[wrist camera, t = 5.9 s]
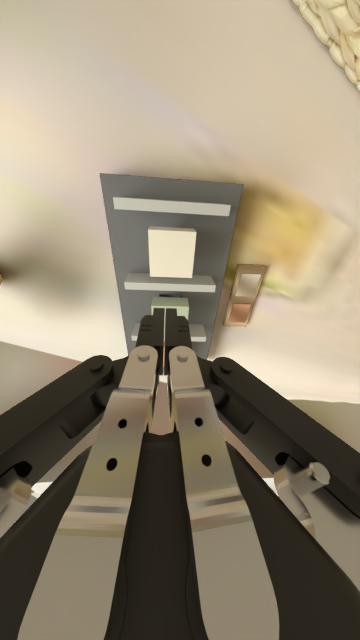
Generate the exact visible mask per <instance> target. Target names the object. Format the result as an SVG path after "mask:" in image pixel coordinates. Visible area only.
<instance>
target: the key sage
mask: <svg viewBox="0 0 360 640" xmlns="http://www.w3.org/2000/svg"><path fill="white" fill-rule="evenodd" d="M154 308H165V315H166V308H177V316H185V318H186V319H187V320H188V313H189V303H188V298H176V297H153V299H152V304H151V312H152V315H153V309H154ZM164 335H165V317H164Z"/></svg>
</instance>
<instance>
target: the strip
mask: <svg viewBox="0 0 360 640" xmlns="http://www.w3.org/2000/svg"><path fill="white" fill-rule="evenodd" d="M265 269H266V266H264V265H247V264H238V265H237V269H236V273H235V277H234V282H233V286H232V290H231V294H230V298H229V302H228V306H227V310H226V314H225V318H224V323H223V325H224V326H240V327H246V325H247V322H248V319H249V316H250V313H251V310H252V307H253V304H254V301H255V298H256V295H257V292H258V289H259V286H260V284H261V281H262V278H263V275H264V272H265Z"/></svg>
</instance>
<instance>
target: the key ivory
mask: <svg viewBox="0 0 360 640" xmlns="http://www.w3.org/2000/svg"><path fill="white" fill-rule="evenodd" d="M196 233H197V232H196V231H195V229H193V228H176V227H158V226H150V227H149V229H148V242H149V265H150V277H177V278H192V273H193V263H194V253H195V243H196Z"/></svg>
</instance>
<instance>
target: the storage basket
mask: <svg viewBox="0 0 360 640" xmlns="http://www.w3.org/2000/svg"><path fill="white" fill-rule="evenodd" d="M292 1H293V2H294V3H295V4H296V5H297V6H298V7H299V9H300V13H301V14H302V16H303V18H304V19H305V20H306V21H307V22H308V23H309V24H310V25H311V26H312V27H313V30H314V32H315V34H316V36H317V37H318V38H319V39H320V41H321V42H322V43H324V44H325V45H327V46H328V47H329V53H330V55H331V57H332V58H333V60H334V61H335V63H337V64H338V65H339V66H340V67H342V68H344V70H345V73H346V75H347V77H348V78H349V80H350V81H351V82H352V83H354V84H356V85H357V88H358V90H359V91H360V0H292Z"/></svg>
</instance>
